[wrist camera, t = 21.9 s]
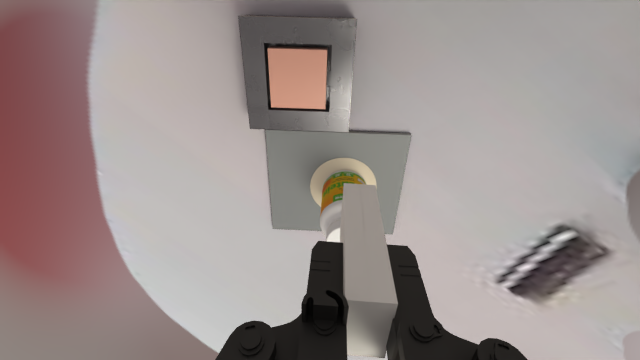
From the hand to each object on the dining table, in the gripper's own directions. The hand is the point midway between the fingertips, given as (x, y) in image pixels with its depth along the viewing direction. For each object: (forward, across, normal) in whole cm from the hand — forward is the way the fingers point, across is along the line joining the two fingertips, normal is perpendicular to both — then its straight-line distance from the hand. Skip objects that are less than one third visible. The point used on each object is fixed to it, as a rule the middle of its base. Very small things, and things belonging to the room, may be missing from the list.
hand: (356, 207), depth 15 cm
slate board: (+19, -1, -10) cm, 22 cm away
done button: (+18, -5, +3) cm, 19 cm away
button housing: (+19, -5, +3) cm, 20 cm away
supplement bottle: (+19, 0, -10) cm, 21 cm away
